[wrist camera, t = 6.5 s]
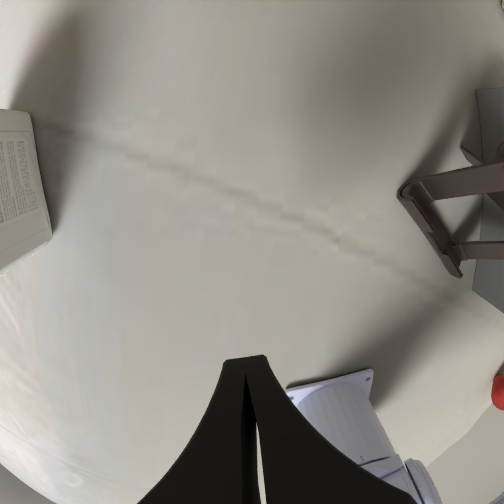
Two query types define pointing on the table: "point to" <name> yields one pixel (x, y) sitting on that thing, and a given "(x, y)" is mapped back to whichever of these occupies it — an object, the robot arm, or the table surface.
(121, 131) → the table surface
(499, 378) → the onion
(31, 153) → the white labeled box
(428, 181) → the portable electronic device stand
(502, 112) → the charging dock
